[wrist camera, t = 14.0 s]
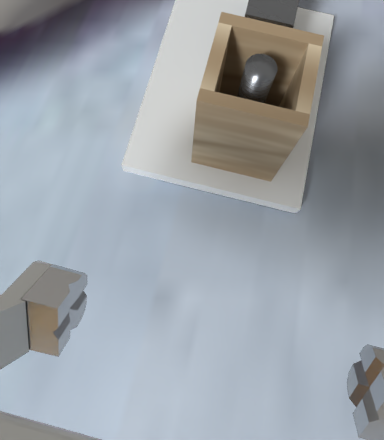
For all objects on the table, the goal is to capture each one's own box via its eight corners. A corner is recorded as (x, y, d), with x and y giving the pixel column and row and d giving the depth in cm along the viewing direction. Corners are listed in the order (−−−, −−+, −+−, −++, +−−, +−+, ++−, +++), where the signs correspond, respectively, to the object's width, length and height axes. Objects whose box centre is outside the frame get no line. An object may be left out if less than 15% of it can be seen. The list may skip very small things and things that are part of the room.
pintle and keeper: (254, 158, 25) (288, 88, 18) (212, 148, 25) (228, 73, 18) (284, 23, 28) (323, -88, 21) (247, 14, 29) (272, -99, 21)
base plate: (295, 213, 24) (300, 209, 23) (123, 171, 25) (121, 165, 24) (328, 25, 29) (334, 15, 28) (181, -9, 29) (181, -20, 28)
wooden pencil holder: (270, 181, 24) (307, 126, 17) (191, 162, 24) (196, 100, 17) (296, 53, 27) (337, -38, 20) (225, 36, 27) (241, -59, 20)
